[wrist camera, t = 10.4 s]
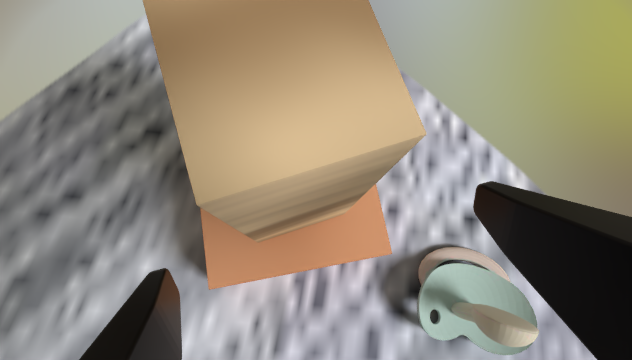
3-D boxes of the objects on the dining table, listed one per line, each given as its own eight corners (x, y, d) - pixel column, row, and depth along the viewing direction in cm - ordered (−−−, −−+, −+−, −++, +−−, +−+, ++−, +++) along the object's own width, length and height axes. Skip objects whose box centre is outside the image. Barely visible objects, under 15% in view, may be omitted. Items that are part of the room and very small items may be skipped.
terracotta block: (373, 256, 23) (392, 253, 19) (221, 285, 21) (208, 289, 17) (342, 120, 25) (354, 93, 21) (204, 138, 23) (189, 113, 20)
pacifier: (413, 237, 23) (400, 329, 21) (461, 221, 17) (448, 348, 15) (513, 262, 23) (509, 356, 22) (595, 256, 17) (598, 384, 16)
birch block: (344, 214, 19) (426, 134, 7) (258, 242, 18) (196, 205, 7) (315, 134, 20) (347, -48, 8) (233, 158, 19) (142, -2, 8)
